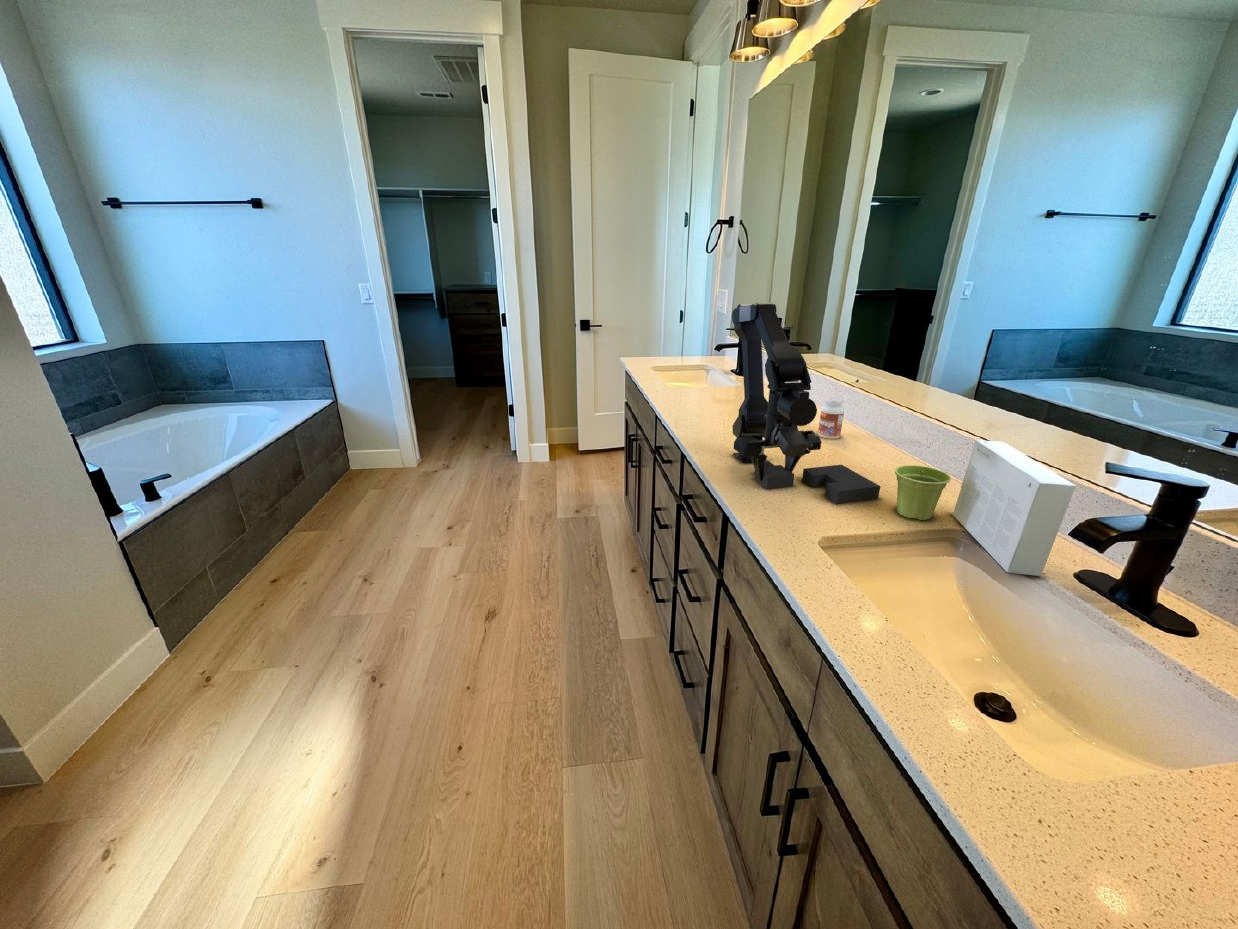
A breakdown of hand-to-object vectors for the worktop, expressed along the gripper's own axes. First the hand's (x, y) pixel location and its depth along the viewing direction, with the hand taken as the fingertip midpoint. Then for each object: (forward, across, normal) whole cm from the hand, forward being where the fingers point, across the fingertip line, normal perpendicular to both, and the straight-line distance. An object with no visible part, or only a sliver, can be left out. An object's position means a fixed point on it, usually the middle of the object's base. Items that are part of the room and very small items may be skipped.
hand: (773, 478), depth 113 cm
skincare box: (+1, +24, -34) cm, 42 cm away
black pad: (+1, 0, +1) cm, 2 cm away
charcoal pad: (+1, +12, -7) cm, 14 cm away
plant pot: (+1, +19, -21) cm, 28 cm away
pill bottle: (+1, +33, +27) cm, 43 cm away
